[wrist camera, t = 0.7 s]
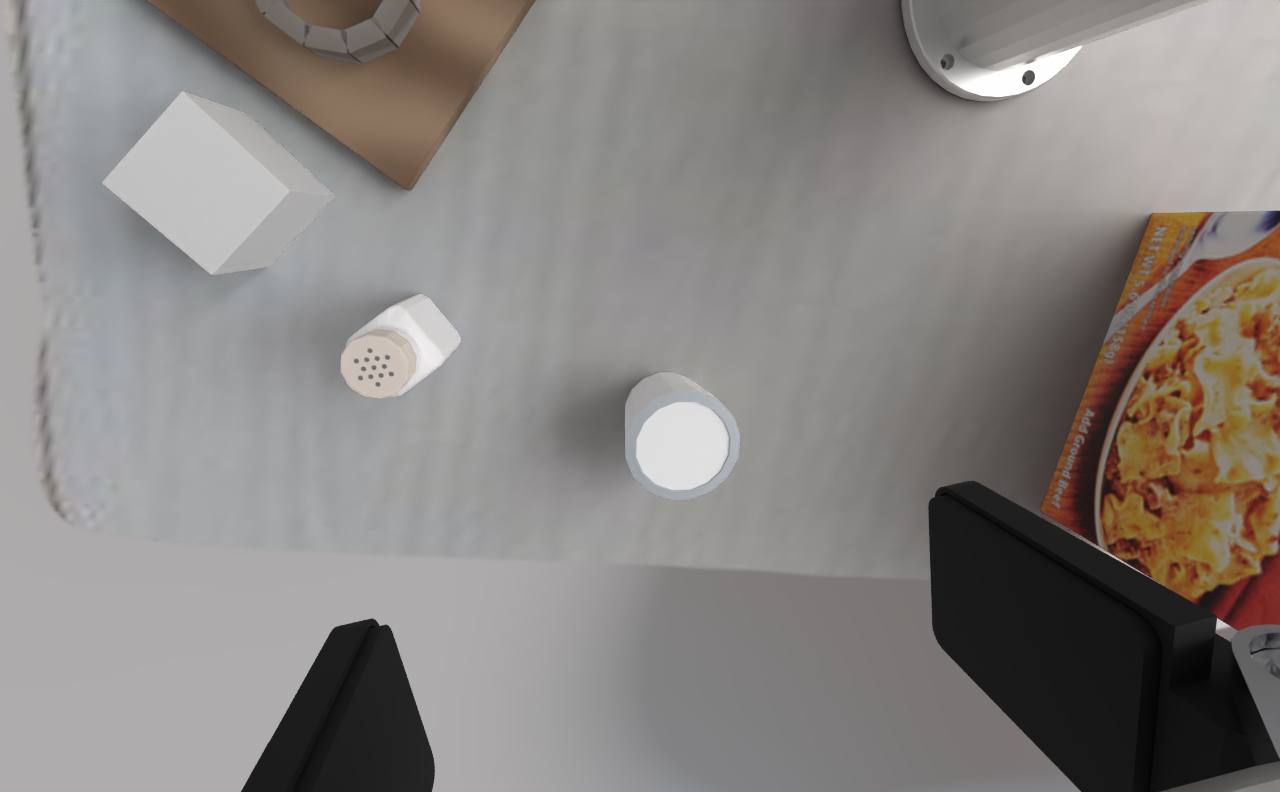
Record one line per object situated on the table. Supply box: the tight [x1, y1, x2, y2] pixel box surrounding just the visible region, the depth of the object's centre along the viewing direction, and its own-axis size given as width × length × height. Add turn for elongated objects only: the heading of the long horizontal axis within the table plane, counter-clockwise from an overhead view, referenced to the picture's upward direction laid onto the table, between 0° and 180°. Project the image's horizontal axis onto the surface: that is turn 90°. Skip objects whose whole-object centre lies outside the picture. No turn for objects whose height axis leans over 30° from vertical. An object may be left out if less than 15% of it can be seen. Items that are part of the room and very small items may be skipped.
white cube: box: [102, 91, 335, 275], centre depth 31 cm, size 6×6×6 cm
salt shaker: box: [340, 294, 461, 399], centre depth 33 cm, size 4×4×10 cm
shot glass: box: [625, 372, 740, 500], centre depth 37 cm, size 7×7×7 cm
